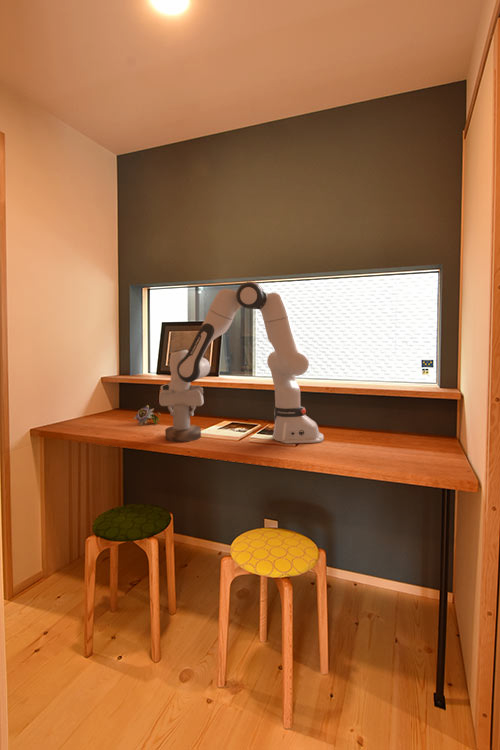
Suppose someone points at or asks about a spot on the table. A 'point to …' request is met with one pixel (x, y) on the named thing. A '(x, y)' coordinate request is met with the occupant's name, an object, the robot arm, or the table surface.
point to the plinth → (183, 434)
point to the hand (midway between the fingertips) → (182, 415)
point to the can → (181, 417)
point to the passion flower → (146, 415)
